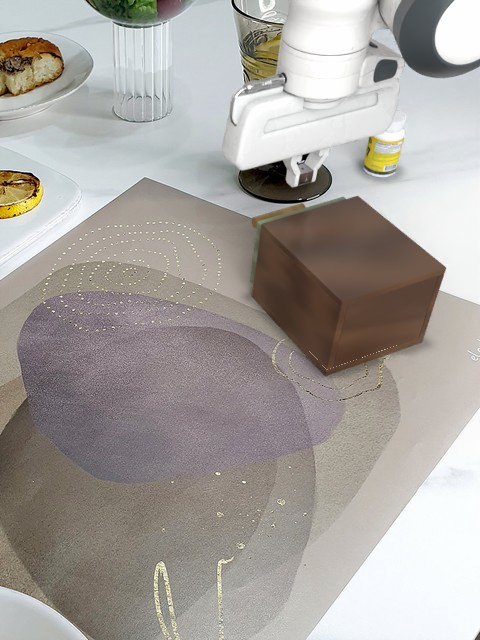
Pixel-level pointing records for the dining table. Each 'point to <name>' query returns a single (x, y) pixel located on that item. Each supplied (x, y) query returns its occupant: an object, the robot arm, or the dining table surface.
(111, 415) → the dining table surface
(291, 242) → the cabinet
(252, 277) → the drawer
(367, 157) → the supplement bottle
